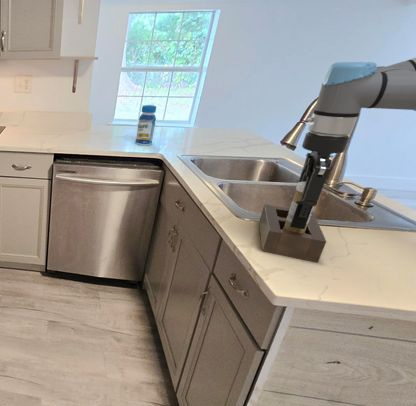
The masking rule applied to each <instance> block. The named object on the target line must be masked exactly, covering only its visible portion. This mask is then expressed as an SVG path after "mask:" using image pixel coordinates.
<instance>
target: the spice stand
mask: <svg viewBox="0 0 416 406" xmlns="http://www.w3.org/2000/svg"><path fill="white" fill-rule="evenodd" d="M289 210H290V207H286V206H285V207H284V206H278V205H272V204H266V203H265V204H264V205H263V208H262V211H261V214H260V216H259V221H258V225H259V226H258V227H259V235H260V241H261V242H260V243H261V250H262V252H265V253H270V254H275V255H278V256H282V257H283V256H284V257H288V258H294V259H298V260H303V261H307V262H312V263H319V261H320V258H321V256H322V255H323V251H324V249H325V246H326V244H327V240H326V237H325V235H324V232H323V230H322V228H321V226H320V224H319V222H318V219H317V217H316V215H315V212H314V211H313V212H312V215H311V217H310V220H309V223H308V225H307V228H306V230H305V234H304V233H298V232H293V231H287V230H283V228H284V226H285V223H286V220H287V216H288V213H289Z"/></svg>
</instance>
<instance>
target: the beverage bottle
mask: <svg viewBox="0 0 416 406" xmlns="http://www.w3.org/2000/svg"><path fill="white" fill-rule="evenodd" d="M156 112H157V106H156V105H154V104H153V105H152V104H144V105H142V107H141V114H140V116H139V118H138V123H137V129H136V137H135V144H137V145H139V146H151V145H152V144H153V138H154V132H155V127H156V121H157V118H156V117H157V116H156V115H155V113H156Z"/></svg>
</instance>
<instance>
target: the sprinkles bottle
mask: <svg viewBox="0 0 416 406" xmlns="http://www.w3.org/2000/svg"><path fill="white" fill-rule="evenodd" d="M305 183H306V182H299V183H298V182H297V184H298V185H296V186H295V193H294V197H293V200H291V201H292V202H291V204H290V207H289V208H290V210H289V213H288V216H287V220H286V223H285V226H284V228H283V230H287V231H293V232H298V233H304V234H305V230H306V228H307V225H308V223H309V220H310V217H311V215H312V212H313V213H314V209H315V206H313V207H312V210H311V213H310V215H309V218H308V221H307V223H306V226H305V229H300V228H294V227H290V225H291V222H292V219H293V216H294V213H295V210H296V207H297V205H298V204H296V201H300V200H301V197H302V194H303V190H304V187H305Z"/></svg>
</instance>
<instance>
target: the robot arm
mask: <svg viewBox="0 0 416 406" xmlns="http://www.w3.org/2000/svg"><path fill="white" fill-rule="evenodd" d="M361 109H380V110H381V109H384V110H403V111H404V110H405V111H407V110H408V111H413V112H416V57H413V58H410V59H408V60H407V59H406V60H404V61H400V62H397V63H393V64H389V65H387V66H384V65H383V66H382V65H381V66H378V64H377V62H372V61H339V62H338V61H337V62H335V63H333V64H331V65H330V66H329V67H328V69H327V71H326V74H325V76H324V79H323V81H322V83H321V87H320V91H319V93H318V97H317V100H316V103H315V107H314V110H313V113H312V117H308V118H307V122H309V124H308V128H307V130H308V132H307V133H305V136H304V139H303V142H302V145H301V147H302V149H304V150H306V151H309V152H307V153H306V155H305V161H304V164H303V166H302V169H301V173H300V175H299V179H298V182H297V185H298V183H299V182H306V183H305V187H304V190H303V194H302V197H301V200H300V201H296V204H298V205H297V207H296V210H295V213H294V216H293V219H292V222H291V225H290V227H294V228H300V229H305V226H306V223H307V221H308V218H309V215H310V213H311V210H312V207H313V206H314V207H316V206H317V205H318V201H319V198H320V196H321V194H322V191H323V188H324V185H325V183H326V180H327V177H328V176H329V174H330V172H331V171H332V168H331V165H332V160H331V159H330V158H331V155H332V154H341V153H344V152H345V151H346V148H347V146H348V143H349V140H350V136H349V135H352V133H353V131H354V128H355V125H356V123H357V121H358V118H359V115H360V112H361ZM297 185H296V186H297Z"/></svg>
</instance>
